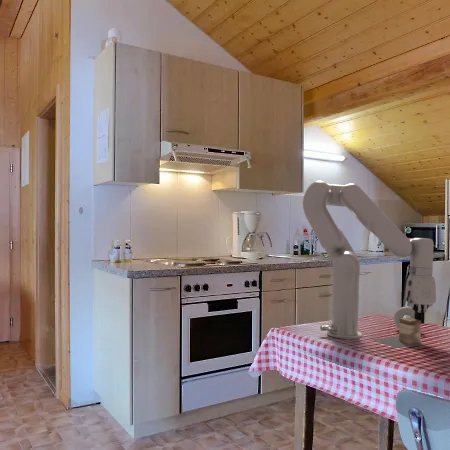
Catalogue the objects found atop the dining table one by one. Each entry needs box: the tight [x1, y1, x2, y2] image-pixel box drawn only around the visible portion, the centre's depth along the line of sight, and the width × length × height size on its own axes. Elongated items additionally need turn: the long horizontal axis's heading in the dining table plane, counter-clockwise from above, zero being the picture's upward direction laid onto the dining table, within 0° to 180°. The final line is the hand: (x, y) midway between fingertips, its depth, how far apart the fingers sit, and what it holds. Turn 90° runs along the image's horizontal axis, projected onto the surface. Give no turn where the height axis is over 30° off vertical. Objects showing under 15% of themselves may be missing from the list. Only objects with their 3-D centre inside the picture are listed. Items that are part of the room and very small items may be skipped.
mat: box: [372, 336, 427, 348], centre depth 161 cm, size 14×12×1 cm
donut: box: [393, 306, 415, 329], centre depth 179 cm, size 10×3×10 cm, turn 73°
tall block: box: [398, 317, 422, 344], centre depth 161 cm, size 5×5×8 cm
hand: (419, 322), depth 163 cm, fingers closed
